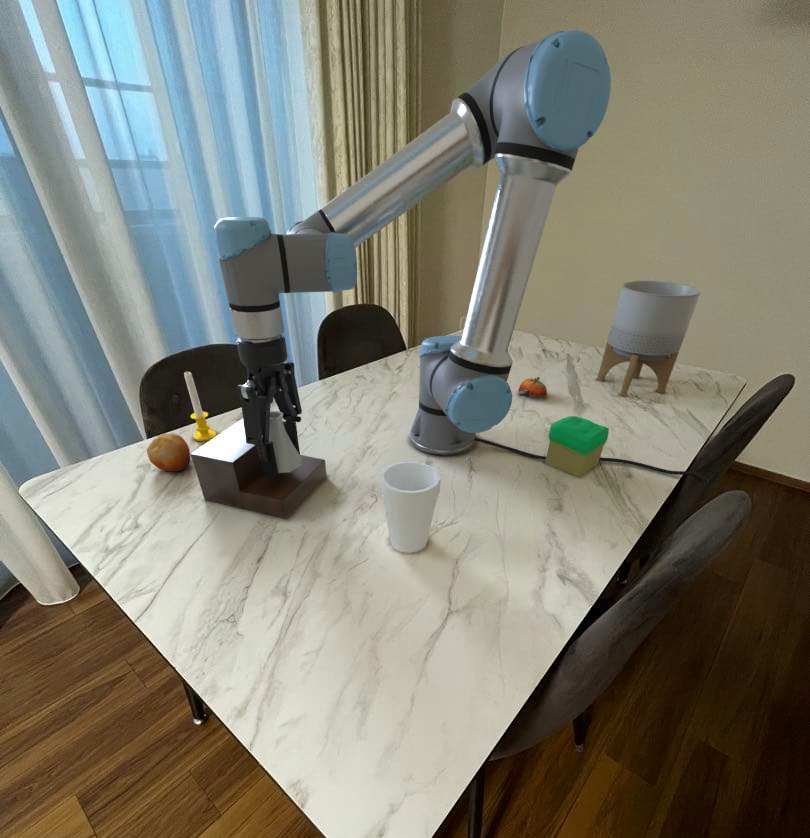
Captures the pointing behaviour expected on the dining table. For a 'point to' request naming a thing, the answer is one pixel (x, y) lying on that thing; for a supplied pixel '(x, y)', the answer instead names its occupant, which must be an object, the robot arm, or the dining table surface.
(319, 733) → the dining table surface
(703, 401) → the dining table surface
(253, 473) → the spice riser
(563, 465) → the cake
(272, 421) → the flask
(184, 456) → the fruit
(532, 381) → the tomato
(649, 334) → the planter
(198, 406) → the candle
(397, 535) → the foam cup
